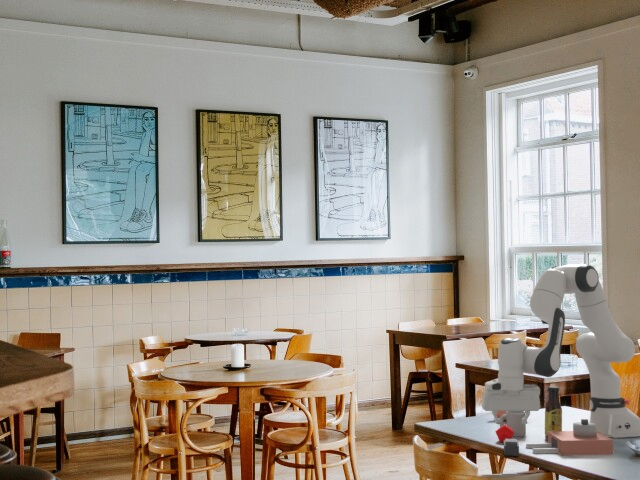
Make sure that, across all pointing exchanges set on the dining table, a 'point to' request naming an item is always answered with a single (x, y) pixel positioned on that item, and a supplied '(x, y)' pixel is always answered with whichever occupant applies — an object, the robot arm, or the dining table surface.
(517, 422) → the cup
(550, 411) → the sauce bottle
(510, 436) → the red pentagonal block
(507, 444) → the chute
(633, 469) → the dining table surface
